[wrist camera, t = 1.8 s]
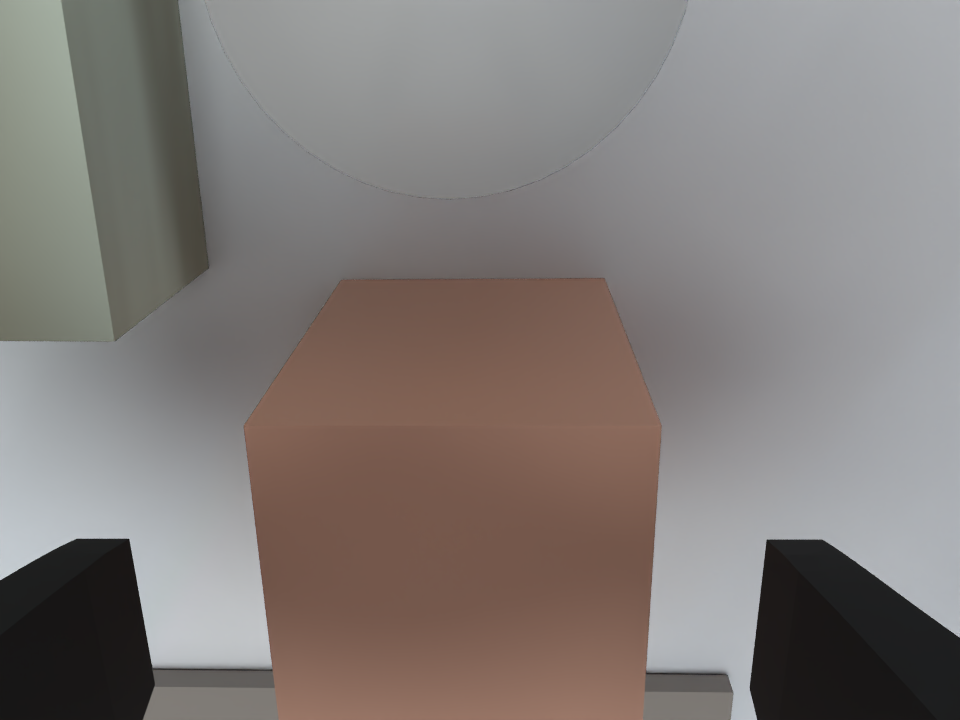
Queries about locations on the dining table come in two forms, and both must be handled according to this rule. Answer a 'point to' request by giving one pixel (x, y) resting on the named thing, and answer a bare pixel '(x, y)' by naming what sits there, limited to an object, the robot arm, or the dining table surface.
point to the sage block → (94, 167)
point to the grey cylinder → (447, 82)
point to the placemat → (254, 716)
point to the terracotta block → (458, 505)
